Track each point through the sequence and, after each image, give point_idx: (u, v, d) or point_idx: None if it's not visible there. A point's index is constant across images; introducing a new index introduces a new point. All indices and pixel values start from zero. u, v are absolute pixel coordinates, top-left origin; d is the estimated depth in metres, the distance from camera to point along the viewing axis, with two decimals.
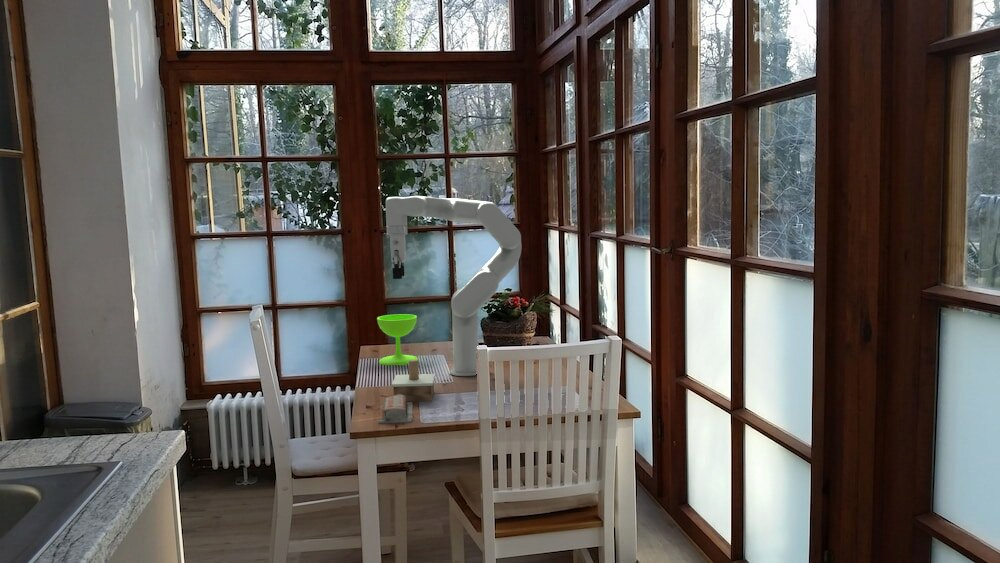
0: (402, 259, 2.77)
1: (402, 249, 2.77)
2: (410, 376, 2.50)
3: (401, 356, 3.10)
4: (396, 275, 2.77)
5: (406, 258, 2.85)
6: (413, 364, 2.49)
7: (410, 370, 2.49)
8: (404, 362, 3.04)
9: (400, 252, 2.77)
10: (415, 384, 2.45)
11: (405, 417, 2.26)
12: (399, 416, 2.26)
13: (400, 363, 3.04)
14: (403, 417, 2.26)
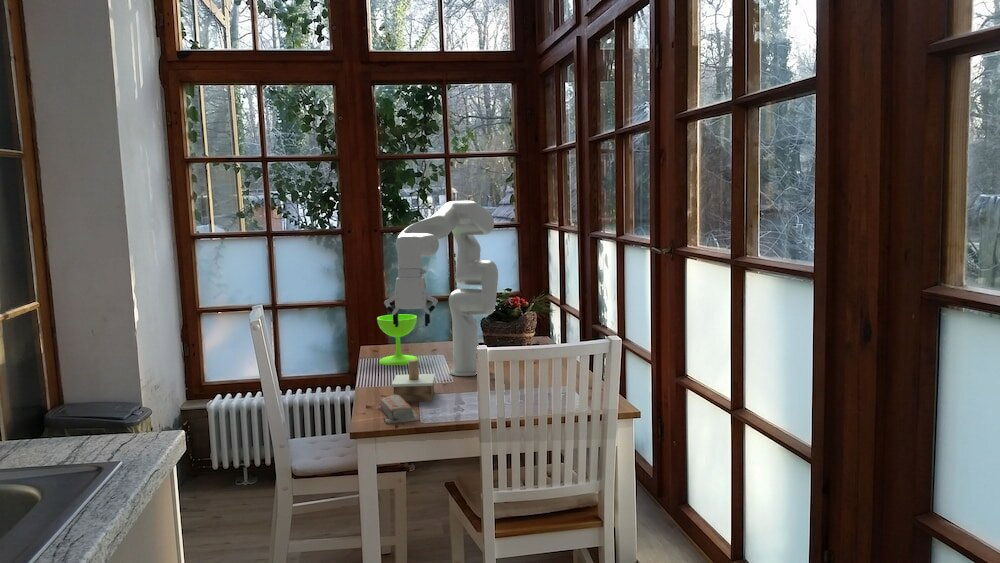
0: None
1: None
2: (410, 376, 2.50)
3: (401, 356, 3.10)
4: (429, 321, 2.49)
5: None
6: (413, 364, 2.49)
7: (410, 370, 2.49)
8: (404, 362, 3.04)
9: None
10: (415, 384, 2.45)
11: (412, 416, 2.28)
12: (406, 415, 2.27)
13: (400, 363, 3.04)
14: (410, 416, 2.27)
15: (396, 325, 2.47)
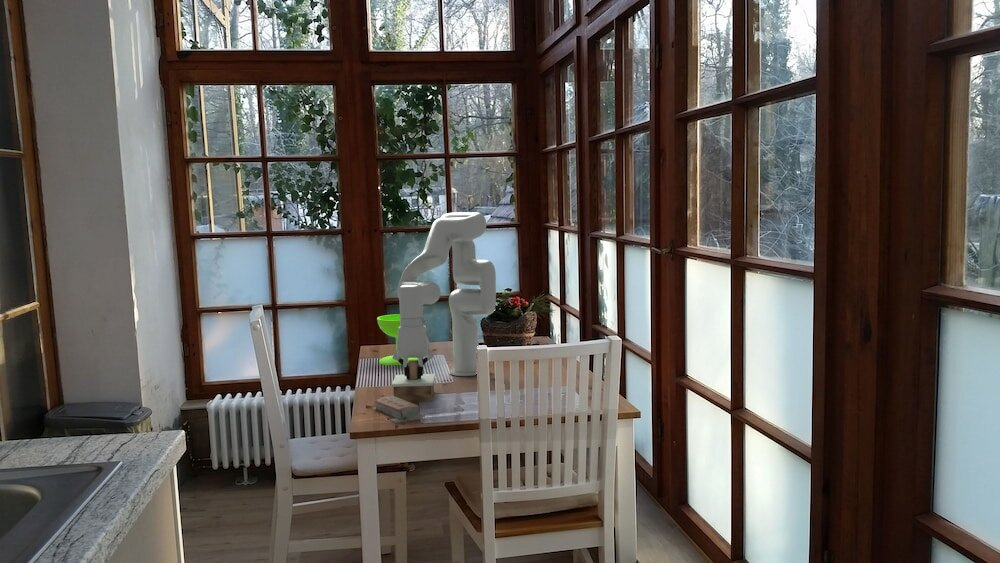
0: None
1: None
2: (410, 376, 2.50)
3: None
4: (422, 374, 2.51)
5: None
6: (413, 364, 2.49)
7: (410, 370, 2.49)
8: None
9: (428, 344, 2.51)
10: (415, 384, 2.45)
11: (419, 414, 2.30)
12: (414, 413, 2.29)
13: (400, 363, 3.04)
14: (417, 414, 2.29)
15: (407, 377, 2.49)
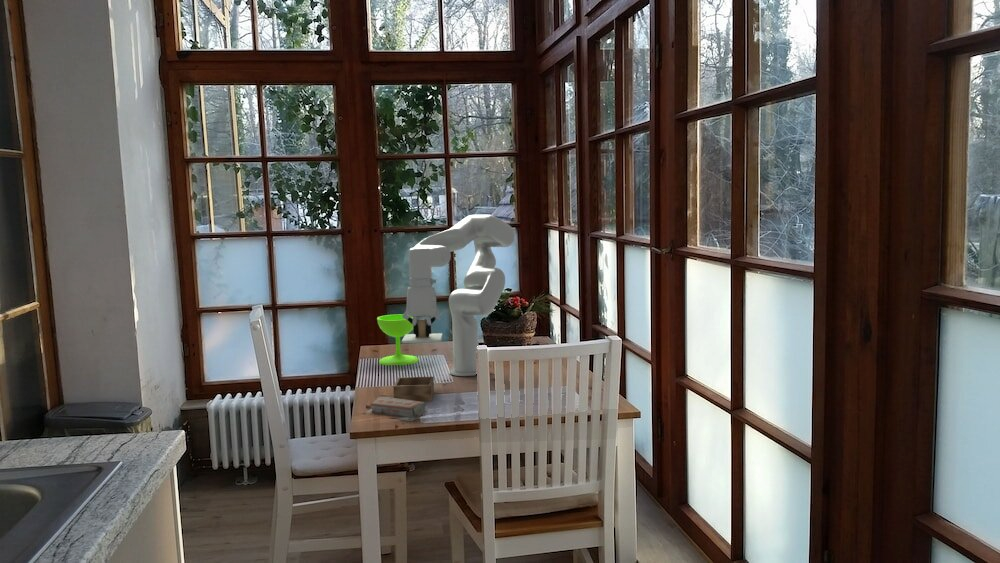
0: None
1: None
2: (419, 334, 2.63)
3: (401, 356, 3.10)
4: (430, 332, 2.64)
5: None
6: (422, 322, 2.62)
7: (419, 328, 2.63)
8: (404, 362, 3.04)
9: (436, 304, 2.65)
10: (424, 341, 2.58)
11: (425, 410, 2.34)
12: (422, 410, 2.32)
13: (400, 363, 3.04)
14: (424, 410, 2.33)
15: (416, 335, 2.63)
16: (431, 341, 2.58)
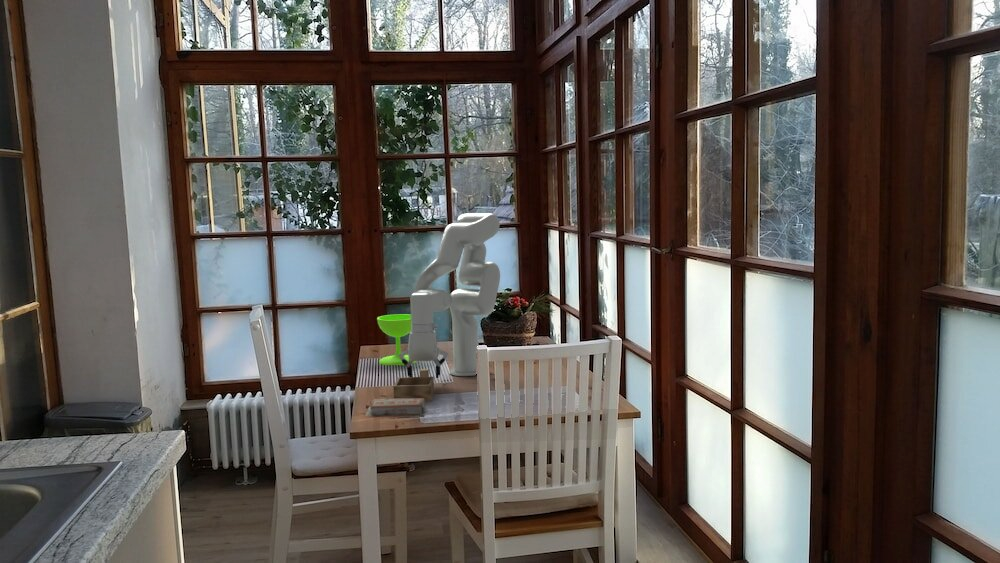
0: None
1: None
2: None
3: None
4: None
5: None
6: (424, 373, 2.65)
7: None
8: None
9: None
10: None
11: (424, 406, 2.38)
12: None
13: (400, 363, 3.04)
14: (424, 406, 2.38)
15: None
16: None
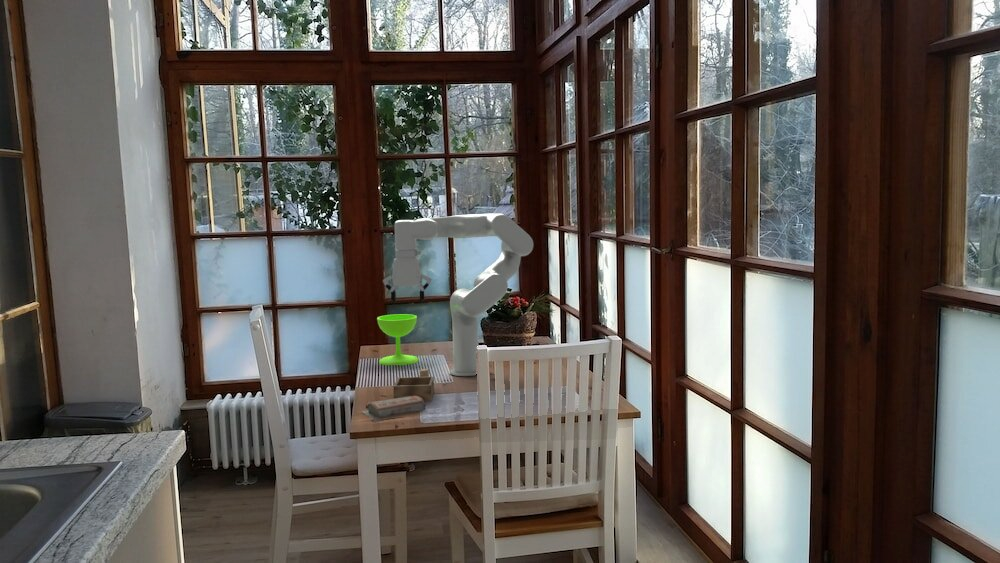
0: None
1: None
2: None
3: (401, 356, 3.10)
4: None
5: None
6: (424, 373, 2.65)
7: None
8: (404, 362, 3.04)
9: None
10: None
11: None
12: None
13: (400, 363, 3.04)
14: None
15: (394, 301, 2.75)
16: None
